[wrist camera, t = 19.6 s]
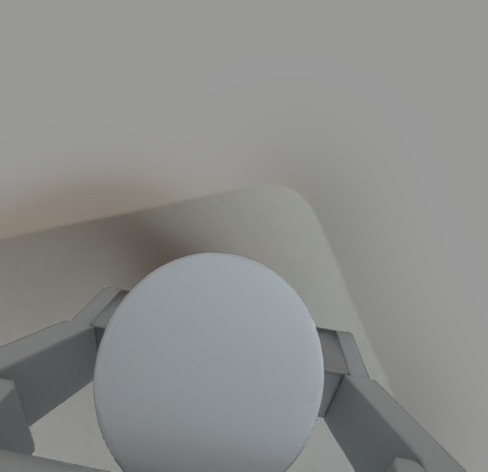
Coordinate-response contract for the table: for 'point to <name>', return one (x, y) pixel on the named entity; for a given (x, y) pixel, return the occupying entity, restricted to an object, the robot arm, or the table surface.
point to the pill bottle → (209, 370)
